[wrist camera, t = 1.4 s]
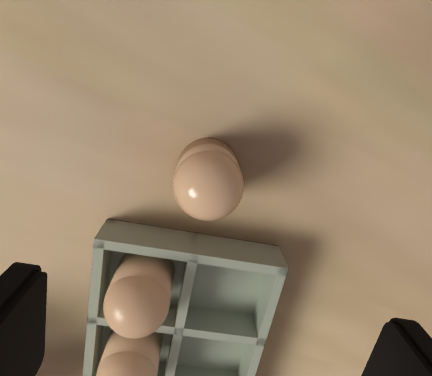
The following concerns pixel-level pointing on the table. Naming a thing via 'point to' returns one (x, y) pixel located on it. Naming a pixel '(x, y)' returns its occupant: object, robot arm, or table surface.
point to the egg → (208, 180)
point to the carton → (178, 302)
